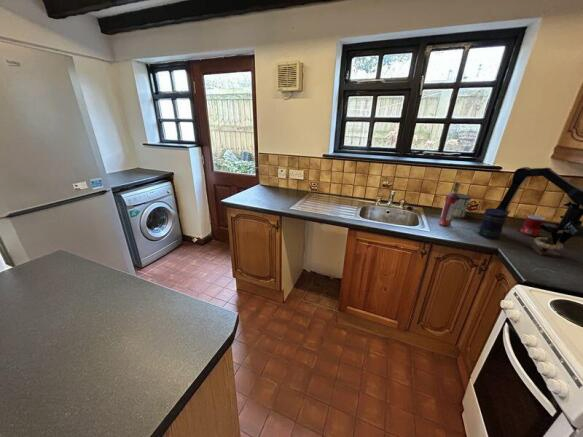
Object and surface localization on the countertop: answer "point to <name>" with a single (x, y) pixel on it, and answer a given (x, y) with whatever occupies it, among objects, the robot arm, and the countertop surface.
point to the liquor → (450, 206)
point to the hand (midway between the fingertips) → (556, 244)
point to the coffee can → (462, 205)
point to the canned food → (532, 225)
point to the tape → (540, 243)
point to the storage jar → (492, 223)
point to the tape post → (545, 251)
